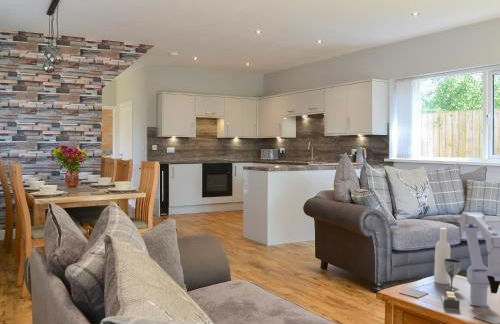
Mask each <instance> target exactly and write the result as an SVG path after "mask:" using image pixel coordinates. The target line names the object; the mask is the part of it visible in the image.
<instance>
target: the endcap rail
mask: <svg viewBox="0 0 500 324" xmlns="http://www.w3.org/2000/svg"><path fill="white" fill-rule="evenodd" d="M455 298H456V299H455V300H452V299H446V296H444V295H441V302H442V306H443V310H447V311H455V312H456V311H457V312H460V298H459V297H456V296H455Z"/></svg>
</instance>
